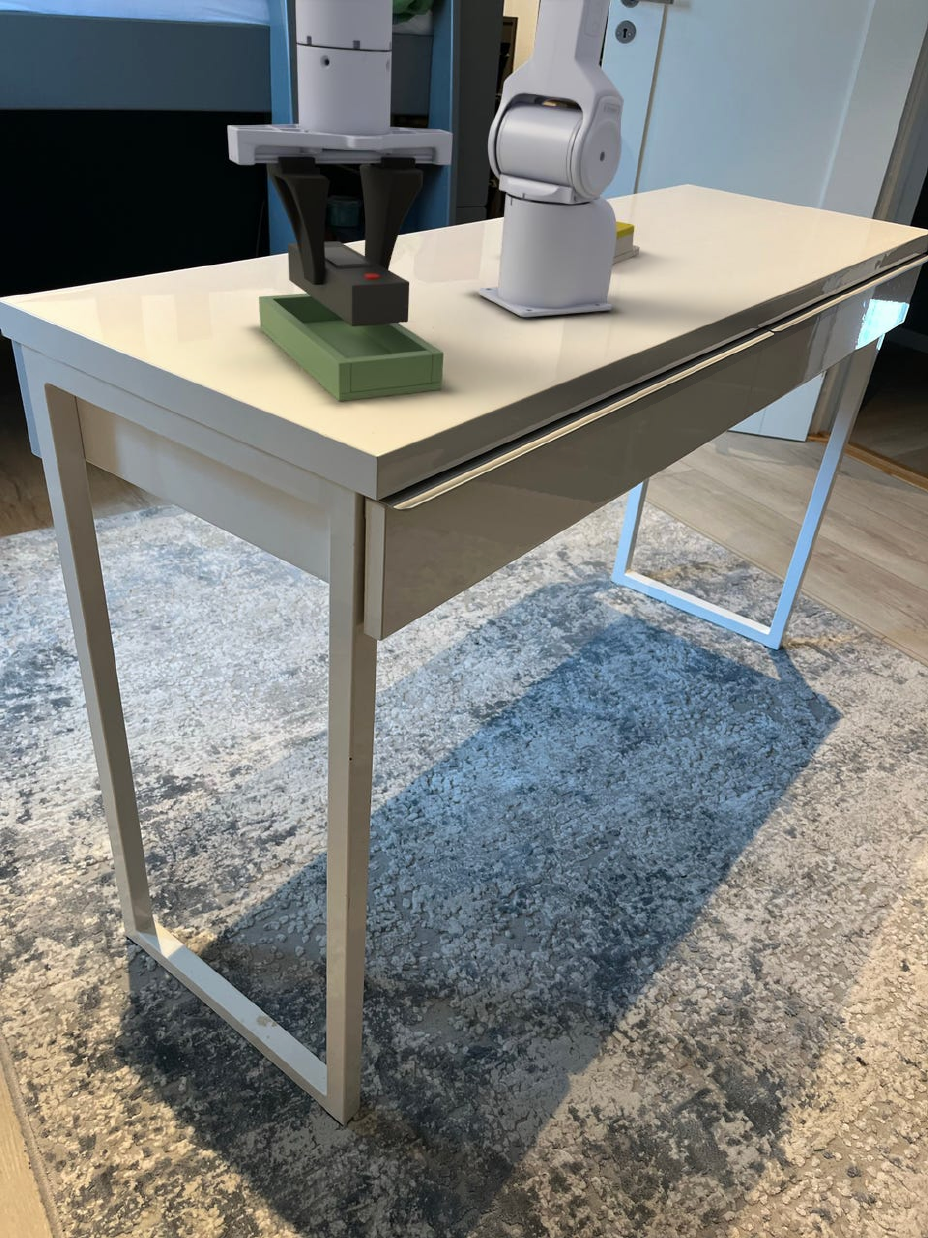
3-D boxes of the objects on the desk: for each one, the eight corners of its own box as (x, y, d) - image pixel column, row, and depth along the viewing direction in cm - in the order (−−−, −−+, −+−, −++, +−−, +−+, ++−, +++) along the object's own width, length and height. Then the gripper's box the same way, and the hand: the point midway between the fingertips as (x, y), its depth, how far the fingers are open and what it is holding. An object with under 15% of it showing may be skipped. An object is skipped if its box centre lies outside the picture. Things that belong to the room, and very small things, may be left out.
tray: (350, 322, 74) (350, 290, 72) (441, 389, 62) (443, 352, 61) (260, 329, 71) (258, 296, 69) (339, 401, 59) (339, 362, 58)
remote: (288, 280, 68) (287, 240, 66) (339, 277, 69) (339, 238, 68) (352, 326, 59) (352, 282, 58) (408, 322, 61) (410, 279, 59)
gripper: (247, 45, 50) (260, 301, 57) (480, 58, 56) (465, 288, 64) (211, 37, 55) (227, 273, 62) (428, 50, 61) (420, 264, 69)
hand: (345, 279), depth 63 cm, fingers closed on remote, 4 cm apart
